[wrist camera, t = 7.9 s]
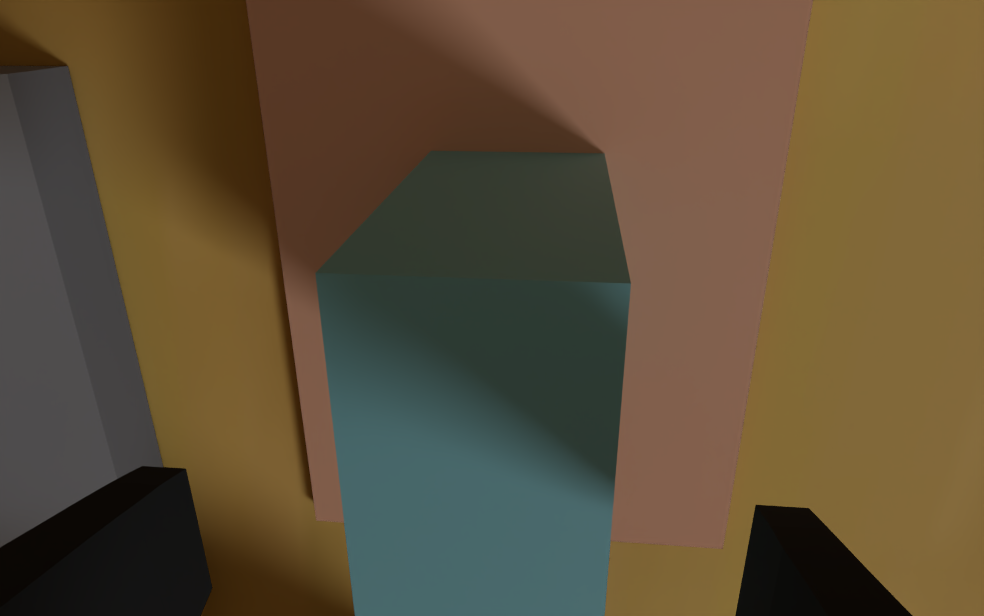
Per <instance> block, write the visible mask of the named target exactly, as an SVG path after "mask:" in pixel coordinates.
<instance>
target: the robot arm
mask: <svg viewBox="0 0 984 616" xmlns="http://www.w3.org/2000/svg"><path fill="white" fill-rule="evenodd" d="M211 590H212V584H211V580H210V575H209V571H208V566H207V562H206V557H205V553H204V548H203V544H202V539H201V535H200V530H199V526H198V521H197V517H196V512H195V508H194V503H193V499H192V494H191V490H190V485H189V481H188V476H187V472H186V469H182V468H166V467H150V466H141V467H139V468H137V469H135V470H133V471H131V472H129V473H127V474H125V475H123V476H121V477H120V478H118V479H116V480H114V481H112V482H111V483H109V484H107V485H105V486H104V487H102V488H100V489H98V490H96V491H95V492H93V493H91V494H90V495H88V496H86V497H84V498H83V499H81V500H79V501H78V502H76V503H74V504H73V505H71V506H69V507H67V508H66V509H64V510H62V511H61V512H59V513H57V514H56V515H54V516H52V517H51V518H49V519H47V520H46V521H44V522H42V523H41V524H39V525H37V526H36V527H34V528H32V529H30V530H29V531H27V532H25V533H24V534H22V535H20V536H19V537H17V538H15V539H13V540H12V541H10V542H8V543H7V544H5V545H3V546H2V547H0V616H201V613H202V611H203V609H204V606H205V604H206V601H207V599H208V597H209V594H210V592H211ZM736 616H912V615H911V614H910V613H909V612H908V611H907V610H906V609H905V608H904V607H903V606H902V605H901V604H900V603H899V602H898V601H897V600H896V599H895V597H894V596H893V595H892V594H891V593H890V592H889V591H888V590H887V589H886V588H885V587H884V586H883V585H882V584H881V583H880V582H879V581H878V580H877V579H876V578H875V577H874V576H873V575H872V574H871V573H870V572H869V571H868V570H867V568H866V567H865V566H864V565H863V564H862V563H861V562H860V561H859V560H858V559H857V558H856V557H855V556H854V555H853V554H852V553H851V552H850V551H849V550H848V549H847V547H846V546H845V545H844V544H843V543H842V542H841V541H840V540H839V539H838V538H837V537H836V536H835V535H834V534H833V533H832V532H831V531H830V530H829V529H828V527H827V526H826V525H825V524H824V523H823V522H822V521H821V520H820V519H819V518H818V517H817V516H816V515H815V514H814V513H813V512H812V511H811V510H810V509H809V508H797V507H781V506H765V505H756V506H755V512H754V517H753V523H752V528H751V534H750V539H749V545H748V550H747V556H746V561H745V567H744V572H743V578H742V583H741V589H740V594H739V600H738V605H737V610H736Z"/></svg>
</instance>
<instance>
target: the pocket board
mask: <svg viewBox="0 0 984 616" xmlns="http://www.w3.org/2000/svg"><path fill="white" fill-rule="evenodd" d="M141 466H150V467H163V464H162V460H161V456H160V451H159V447H158V443H157V439H156V435H155V430H154V426H153V422H152V418H151V414H150V409H149V405H148V401H147V397H146V393H145V388H144V384H143V380H142V376H141V372H140V367H139V363H138V359H137V355H136V351H135V346H134V342H133V338H132V334H131V330H130V325H129V321H128V317H127V313H126V309H125V304H124V300H123V296H122V292H121V288H120V283H119V279H118V275H117V271H116V267H115V262H114V258H113V254H112V250H111V246H110V241H109V237H108V233H107V229H106V224H105V220H104V216H103V212H102V208H101V203H100V199H99V195H98V191H97V187H96V182H95V178H94V174H93V170H92V166H91V161H90V157H89V153H88V149H87V145H86V140H85V136H84V132H83V128H82V124H81V119H80V115H79V111H78V107H77V103H76V98H75V94H74V90H73V86H72V82H71V77H70V73H69V69H68V66H0V547H2V546H3V545H5V544H7V543H8V542H10V541H12V540H13V539H15V538H17V537H19V536H20V535H22V534H24V533H25V532H27V531H29V530H30V529H32V528H34V527H36V526H37V525H39V524H41V523H42V522H44V521H46V520H47V519H49V518H51V517H52V516H54V515H56V514H57V513H59V512H61V511H62V510H64V509H66V508H67V507H69V506H71V505H73V504H74V503H76V502H78V501H79V500H81V499H83V498H84V497H86V496H88V495H90V494H91V493H93V492H95V491H96V490H98V489H100V488H102V487H104V486H105V485H107V484H109V483H111V482H112V481H114V480H116V479H118V478H120V477H121V476H123V475H125V474H127V473H129V472H131V471H133V470H135V469H137V468H139V467H141Z"/></svg>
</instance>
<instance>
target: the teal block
mask: <svg viewBox="0 0 984 616" xmlns="http://www.w3.org/2000/svg"><path fill="white" fill-rule="evenodd" d="M315 275H316V283H317V292H318V301H319V309H320V318H321V327H322V335H323V344H324V353H325V361H326V370H327V379H328V387H329V396H330V405H331V413H332V422H333V431H334V439H335V448H336V457H337V465H338V474H339V483H340V491H341V500H342V508H343V517H344V526H345V534H346V543H347V552H348V560H349V569H350V578H351V586H352V595H353V604H354V612H355V616H604V614H605V602H606V589H607V577H608V564H609V552H610V540H611V527H612V515H613V502H614V490H615V477H616V465H617V452H618V440H619V427H620V415H621V402H622V390H623V377H624V365H625V352H626V340H627V327H628V315H629V302H630V290H631V281H630V276H629V271H628V266H627V261H626V257H625V252H624V247H623V242H622V237H621V232H620V227H619V222H618V217H617V212H616V207H615V202H614V198H613V193H612V188H611V183H610V178H609V173H608V168H607V163H606V158H605V153H548V152H482V151H430V152H429V153H428V154H427V155H426V156H425V158H424V159H423V160H422V161H421V162H420V163H419V164H418V165H417V166H416V167H415V168H414V169H413V170H412V171H411V172H410V173H409V174H408V175H407V177H406V178H405V179H404V180H403V181H402V182H401V183H400V184H399V185H398V186H397V187H396V188H395V189H394V190H393V191H392V192H391V193H390V195H389V196H388V197H387V198H386V199H385V200H384V201H383V202H382V203H381V204H380V205H379V206H378V207H377V208H376V209H375V210H374V211H373V213H372V214H371V215H370V216H369V217H368V218H367V219H366V220H365V221H364V222H363V223H362V224H361V225H360V226H359V227H358V228H357V229H356V230H355V232H354V233H353V234H352V235H351V236H350V237H349V238H348V239H347V240H346V241H345V242H344V243H343V244H342V245H341V246H340V247H339V248H338V250H337V251H336V252H335V253H334V254H333V255H332V256H331V257H330V258H329V259H328V260H327V261H326V262H325V263H324V264H323V265H322V266H321V268H320V269H319V270H318V271H317V272H316V273H315Z"/></svg>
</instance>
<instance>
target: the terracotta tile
mask: <svg viewBox="0 0 984 616" xmlns="http://www.w3.org/2000/svg"><path fill="white" fill-rule="evenodd" d="M812 3H813V0H246V5H247V13H248V20H249V27H250V35H251V42H252V50H253V57H254V64H255V72H256V79H257V86H258V94H259V101H260V109H261V116H262V123H263V131H264V138H265V145H266V153H267V160H268V168H269V175H270V182H271V190H272V197H273V204H274V212H275V219H276V227H277V234H278V241H279V249H280V256H281V263H282V271H283V278H284V286H285V293H286V300H287V308H288V315H289V322H290V330H291V337H292V345H293V352H294V359H295V367H296V374H297V381H298V389H299V396H300V404H301V411H302V418H303V426H304V433H305V441H306V448H307V455H308V463H309V470H310V477H311V485H312V492H313V500H314V507H315V514H316V520H317V521H332V522H344V517H343V508H342V500H341V491H340V483H339V474H338V465H337V457H336V448H335V439H334V431H333V422H332V413H331V405H330V396H329V387H328V379H327V370H326V361H325V353H324V344H323V335H322V327H321V318H320V309H319V301H318V292H317V283H316V275H315V273H316V272H317V271H318V270H319V269H320V268H321V266H322V265H323V264H324V263H325V262H326V261H327V260H328V259H329V258H330V257H331V256H332V255H333V254H334V253H335V252H336V251H337V250H338V248H339V247H340V246H341V245H342V244H343V243H344V242H345V241H346V240H347V239H348V238H349V237H350V236H351V235H352V234H353V233H354V232H355V230H356V229H357V228H358V227H359V226H360V225H361V224H362V223H363V222H364V221H365V220H366V219H367V218H368V217H369V216H370V215H371V214H372V213H373V211H374V210H375V209H376V208H377V207H378V206H379V205H380V204H381V203H382V202H383V201H384V200H385V199H386V198H387V197H388V196H389V195H390V193H391V192H392V191H393V190H394V189H395V188H396V187H397V186H398V185H399V184H400V183H401V182H402V181H403V180H404V179H405V178H406V177H407V175H408V174H409V173H410V172H411V171H412V170H413V169H414V168H415V167H416V166H417V165H418V164H419V163H420V162H421V161H422V160H423V159H424V158H425V156H426V155H427V154H428V153H429V152H430V151H482V152H548V153H605V158H606V163H607V168H608V173H609V178H610V183H611V188H612V193H613V198H614V202H615V207H616V212H617V217H618V222H619V227H620V232H621V237H622V242H623V247H624V252H625V257H626V261H627V266H628V271H629V276H630V281H631V290H630V302H629V315H628V327H627V340H626V352H625V365H624V377H623V390H622V402H621V415H620V427H619V440H618V452H617V465H616V477H615V490H614V502H613V515H612V527H611V540H610V541H618V542H632V543H647V544H661V545H675V546H689V547H704V548H718V549H723V544H724V538H725V532H726V526H727V520H728V514H729V508H730V502H731V496H732V490H733V484H734V478H735V471H736V465H737V459H738V453H739V447H740V441H741V435H742V429H743V423H744V417H745V411H746V405H747V398H748V392H749V386H750V380H751V374H752V368H753V362H754V356H755V350H756V344H757V338H758V332H759V325H760V319H761V313H762V307H763V301H764V295H765V289H766V283H767V277H768V271H769V265H770V259H771V252H772V246H773V240H774V234H775V228H776V222H777V216H778V210H779V204H780V198H781V192H782V186H783V179H784V173H785V167H786V161H787V155H788V149H789V143H790V137H791V131H792V125H793V119H794V113H795V106H796V100H797V94H798V88H799V82H800V76H801V70H802V64H803V58H804V52H805V46H806V40H807V33H808V27H809V21H810V15H811V9H812Z"/></svg>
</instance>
